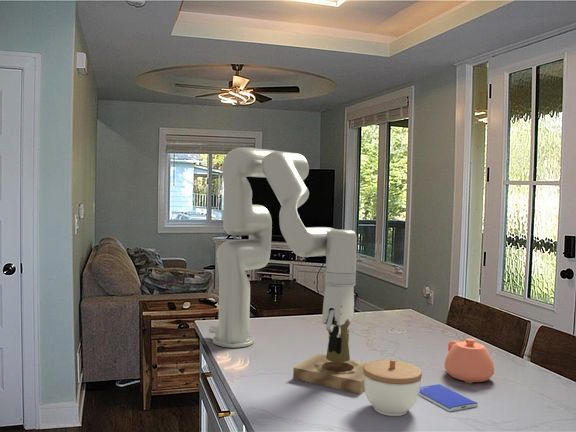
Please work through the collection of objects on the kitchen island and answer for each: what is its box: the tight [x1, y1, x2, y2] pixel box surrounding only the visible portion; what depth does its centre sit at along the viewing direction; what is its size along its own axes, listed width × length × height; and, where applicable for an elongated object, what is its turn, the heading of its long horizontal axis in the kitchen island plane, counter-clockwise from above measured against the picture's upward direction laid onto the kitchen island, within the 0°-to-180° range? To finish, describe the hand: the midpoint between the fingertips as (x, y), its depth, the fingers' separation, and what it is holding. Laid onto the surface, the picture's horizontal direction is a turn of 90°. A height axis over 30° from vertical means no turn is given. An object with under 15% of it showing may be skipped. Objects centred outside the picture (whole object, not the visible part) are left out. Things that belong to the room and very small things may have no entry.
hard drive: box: [419, 383, 479, 412], centre depth 128 cm, size 2×8×12 cm
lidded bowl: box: [363, 358, 423, 417], centre depth 121 cm, size 13×13×11 cm
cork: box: [326, 319, 351, 362], centre depth 140 cm, size 6×6×11 cm
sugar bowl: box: [444, 338, 495, 384], centre depth 144 cm, size 12×14×10 cm
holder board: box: [292, 353, 367, 395], centre depth 140 cm, size 18×14×3 cm
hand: (338, 349), depth 140 cm, fingers closed on cork, 3 cm apart
